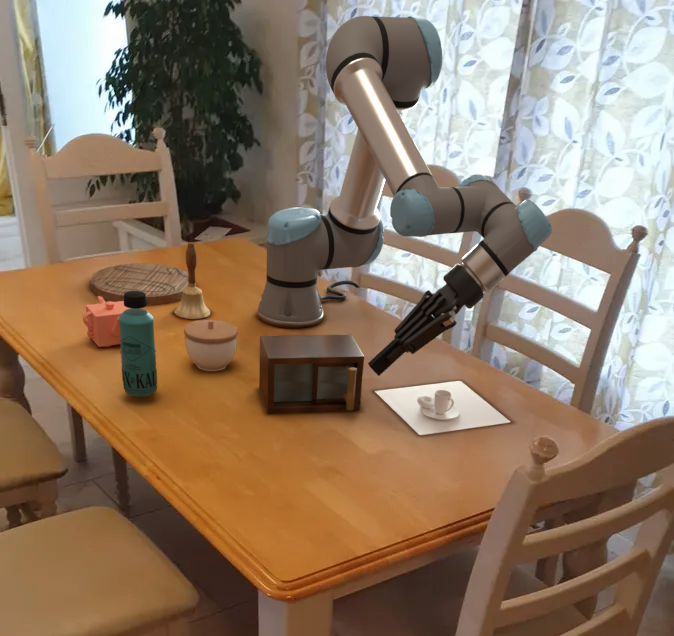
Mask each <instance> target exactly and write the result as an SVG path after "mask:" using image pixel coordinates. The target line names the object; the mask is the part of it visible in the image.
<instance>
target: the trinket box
mask: <svg viewBox="0 0 674 636" xmlns="http://www.w3.org/2000/svg"><path fill="white" fill-rule="evenodd" d="M238 332H239V331H238V328H237V327H236V325H234V324H232V323H230V322H228V321H224V320H218V319H198V320H195V321H191V322H189V323H188V324H186V325H185V326H184V327H183V333H184V334H183V335H184V343H185V349H186V352H187V356H188V357H189V359H190V360H191V361H192V362H193V363H194V364H195V365H196V367H197V368H198V369H200V370H202V371H205V372H218V371H219V372H220V371H222V370H225V369H226V368H227V366H228V365H229V364H230V363H231V362H232V360H233V359H234V357H235V355H236V351H237V345H238Z"/></svg>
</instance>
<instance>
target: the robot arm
mask: <svg viewBox="0 0 674 636" xmlns="http://www.w3.org/2000/svg"><path fill="white" fill-rule="evenodd" d="M442 68H443V48H442V41H441V38H440V35H439V32H438V30H437V28H436V27H435V25H434V24H433V23H432V22H431V21H430V20H428V19H427V18H422V17H421V18H419V17H413V16H412V15H410V16H407V17H406V16H405V17H404V16H403V17H401V16H372V15H371V16H370V15H359V16H355V17H351V18H350V19H348V20H346V21H345V22H344V23H342V24H341V25H340V26H339V27H338V28H337V29H336V31H335V32H334V34H333V35H332V37H331V39H330V41H329V43H328V46H327V50H326V55H325V72H326V77H327V82H328V84H329V87H330V89H331V91H332V93H333V95H334V97H335V99H336V100H337V102H338V103H340V104H341V105H344V106H345V107H346V108H347V110H348V111H349V113H350V115H351V117H352V120H353V121H354V123H355V126H356V127H357V131H356V135H355V138H354V142H353V145H352V149H351V153H350V156H349V159H348V164H347V167H346V171H345V174H344V178H343V181H342V186H341V189H340V193H339V195H337V196H335V197H334V198H333V199H331V201H330V203H329V207H328V210H327V213H326V214H321V213H320V211H319V210H317V209H315V208H312V207H308V206H304V207H299V206H295V207H288V208H283V209H280V210H278V211H275V213H272V214H271V216H270V217H269V218H268V222H267V229H266V236H265V238H266V239H265V240H266V281H265V285H264V289H263V292H262V293H261V294H260V295H261V296H260V301H259V304H258V308H257V316H258V318H259V320H261V321H262V322H264V323H265V324H268V325H271V326H274V327H280V328H287V329H304V328H311V327H314V326H316V325H318V324H320V323H322V321H323V320H324V308H323V304H322V301H327V300H329V301H330V300H331V301H344V300H345V299H346V298H347V295H346V294H345V293H344V292H341V291H337V290H334V289H333V288H336V287H339V286H344V285H350V286H353V287H355V288H356V289H359V288H360V285H359V284H358V283H357V282H355V281H354V280H347V279H346V280H340V281H335V282H333V283H331V284H330V285H328V286H327V287H326V291H327V292H328V293H329V294H332V295H321V296H320V292H319V289H318V273H319V272H318V271H324V270H334V269H335V270H337V269H345V268H359V267H361V266H366V265H370V264H372V263H374V262H375V261H376V260H377V258H378V257H379V256H380V253H381V252H382V249H383V247H384V241H385V237H384V236H383V235H384V234H385V227H384V224H383V221H382V218H381V215H380V212H379V209H378V208H377V207H378V205H379V201H380V198H381V195H382V193H383V192H382V191H383V189H384V185H385V182H386V185H387V186H388V188H389V191H391V194H392V196H393V198H392V199H391V202H390V208H389V209H390V210H389V216H390V217H391V225H392V227H393V229H394V231H395V232H396V233H397V234H398V235H400V236H401V237H408V238H409V237H411V238H412V237H413V238H414V237H415V238H422V237H423V238H424V237H427V236H435V235H436V236H437V235H445V234H460V233H470V232H472V233H473V232H476V233H478V234H479V235H480V236H481V237H482V238H483V239H481V240H480V241H479V242H478V243H477V244H475V246H473V247H472V248H471V249H470V250H469V251H468V252H467V253H466V254H465V255H464V256H463V257H461V263H460V264H459V263H456V264H454V266H452V267H451V268H450V269H449V270H448V271H447V272H446V273H445V274H444V275H443V281H444V282H445V284H444V285H443V286H442V287H439V288H438V289H437V290H436V291H435V292H431V291H430V290H426V291H425V292H424V293H423V295H422V297H421V299H420V300H419V301H418V302H417V303H416V304H415V306H414V307H413V308H412V309H411V310H410V311H409V313H408V314H407V315H405V317H404V318H403V319H402V321H401V322H400V323H399V324H398V325H397V326H396V327H395V329H394V330H393V332H394V333H395V335H394V336H393V338H394V339H392V340H391V341H390V342H389V343H388V344H387V345H386V346H385V347H384V348H383V349H382V350H381V351H379V352H378V353H377V354H376V355H374V357H373V358H372V359H371V360H370V361H369V362H367V365H368V366H369V368H370V370H372V371H373V372H374V373H375V374H376V375H377V376H378V377H380V376H381V375H382V374H383V373H384V372H385V371H386V370H387V369H389V368H390V367H391V366H392V365H393V364H394V363H395V362H396V361H397V360H398V359H400V358H401V357H402V356H403V355H404V354H405V353H410V354H411V355H414V354H416V353H417V352H418V351H419V350H421V349H422V348H424V347H425V346H426V345H428V344H429V343H430V342H432V341H433V340H435V339H437V337H439V336H440V335H442V334H443V333H444V332H446V331H448V330H449V329H452V328H454V327H455V326H456V325H457V324H458V323H457V321H456V320H455V316H456V315H457V314H459V312H460V311H461V310H462V308H463V307H466V308H467V310H468V309H469V310H471V309H473V308H474V306H476V305H477V304H478V303H479V302H481V300H483V298H485V293H484V292H486V293H489V292H491V291H492V290H493V289H494V288H495V287H496V286H499V285H500V284H501V281H503V280H504V279H505V278H506V277H507V276H508V275H509V274H510V273H511V272H512V271H513V270H515V269H516V268H517V267H518V266H519V265H520V264H521V263H523V262H524V261H525V260H526V259H527V258H529V257H530V256H531V255H532V254H534V253H535V252H537V251H538V248H540V247H541V246H542V244H543V243H544V242H545V241H546V240H547V239H548V238H549V237H550V236H551V235H552V232H553V227H552V224H551V222H550V220H549V219H548V217H547V215H546V214H545V213H544V211H542V210H541V208H540V207H539V206H538V204H536V202H534V201H532V200H531V199H525V200H523V201H522V202H521V203H518V204H517V205H516V204H515V203H514V202H513V201H512V200H511V198H510V197H508V195H506V194H505V192H503V191H502V189H500V187H499V186H498V185H497V184H496V183H495V182H493V181H492V180H490V179H489V178H488V177H486V176H485V175H483V174H478V173H477V174H471V175H470V176H469V177H467V178H464V179H463V180H462V181H460V183H459V184H458V185H457V186H449V187H448V186H447V187H440V186H439V185H438V183H437V181H436V179H435V178H434V176H433V175H432V172H431V170H430V169H429V167H428V165H427V163H426V161H425V159H424V157H423V155H422V154H421V151H420V150H419V148H418V146H417V144H416V143H415V141H414V138H413V137H412V135H411V133H410V131H409V130H408V127H407V126H406V124H405V119H406V116H407V113H408V110H411V109H413V108H415V107H417V104H418V103H419V100H420V97H421V94H422V91H423V89H424V90H428V89H430V88H432V87H433V86H435V85H436V84H437V82H438V81H439V78H440V76H441V72H442Z"/></svg>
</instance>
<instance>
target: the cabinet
mask: <svg viewBox="0 0 674 636" xmlns="http://www.w3.org/2000/svg"><path fill="white" fill-rule="evenodd" d="M364 362H365V355H364V354H363V351H362V350H361V349H360V347H359V345H358V343H357V341H356V340H355V338H354V336H353V335H352V334H351V333H350V334H295V335H294V334H292V335H291V334H287V335H284V334H283V335H260V336H259V369H258V370H259V380H258V382H259V383H258V390H259V393H260V396H261V400H262V402H263V405H264V408H265V411H266V414H267V415H273V414H275V415H276V414H303V413H305V414H306V413H307V414H308V413H332V412H333V413H334V412H335V413H337V412H359V411H360V410H361V400H362V399H361V398H362V388H363V387H362V386H363V375H364V366H365V365H364V364H365V363H364ZM315 363H355V366H354V368H356V369H357V373H356V385H355V397H354V409H353V410H347V409H346V402H329V403H312V391H313V372H314V364H315Z"/></svg>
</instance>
